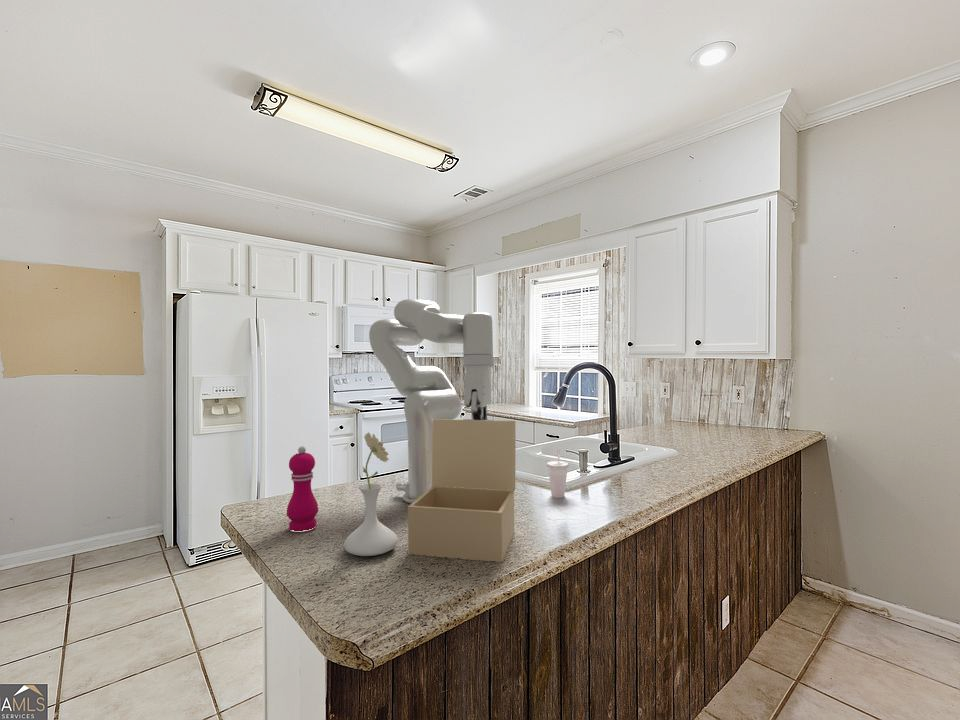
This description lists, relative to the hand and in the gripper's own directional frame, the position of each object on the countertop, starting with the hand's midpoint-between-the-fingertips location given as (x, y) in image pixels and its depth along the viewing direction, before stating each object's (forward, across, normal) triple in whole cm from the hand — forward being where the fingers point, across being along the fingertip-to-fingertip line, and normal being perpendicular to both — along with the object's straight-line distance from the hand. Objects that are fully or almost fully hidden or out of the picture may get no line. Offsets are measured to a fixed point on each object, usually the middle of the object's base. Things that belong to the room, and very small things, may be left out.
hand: (479, 434), depth 119 cm
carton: (+22, +15, -1) cm, 26 cm away
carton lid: (+4, +6, 0) cm, 7 cm away
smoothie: (+22, -25, +17) cm, 38 cm away
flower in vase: (+22, +22, -20) cm, 37 cm away
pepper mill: (+22, +14, -42) cm, 49 cm away
